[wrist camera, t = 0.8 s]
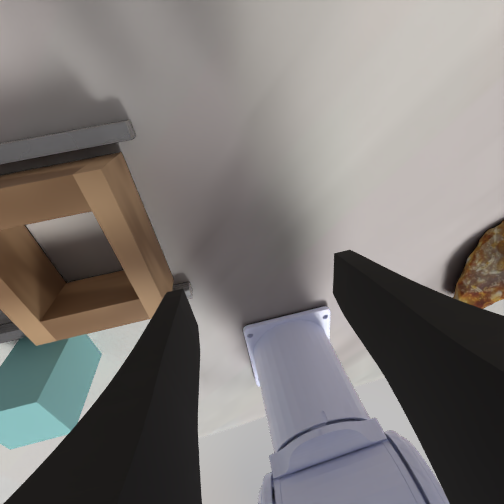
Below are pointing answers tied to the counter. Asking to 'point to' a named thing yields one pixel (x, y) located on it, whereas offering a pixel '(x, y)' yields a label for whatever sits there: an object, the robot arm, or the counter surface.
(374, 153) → the counter surface
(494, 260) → the decorative stone
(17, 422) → the aqua rectangular prism
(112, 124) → the backstop
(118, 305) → the brown rectangular frame
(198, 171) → the counter surface
